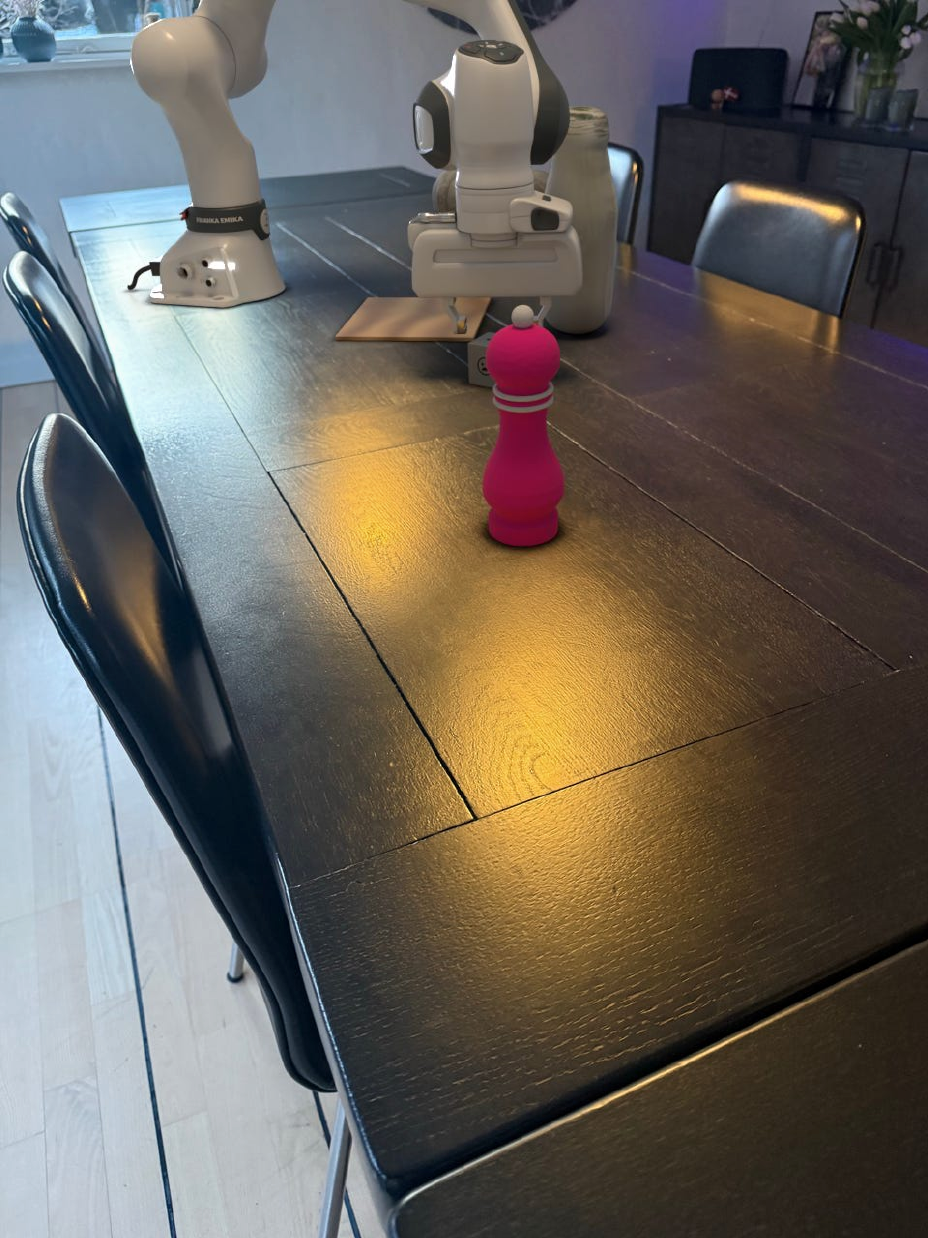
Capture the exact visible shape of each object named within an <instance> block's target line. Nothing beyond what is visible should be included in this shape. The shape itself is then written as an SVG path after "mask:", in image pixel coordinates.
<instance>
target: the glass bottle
mask: <svg viewBox="0 0 928 1238" xmlns="http://www.w3.org/2000/svg"><path fill="white" fill-rule="evenodd" d="M569 108H570V125H569V130H568V133H567V135H566V137H565V139H564V141H563V143H562V145H561V146H560V148H559V149H558V150H557V152H556V153H555V154H554V155H553V156H552V157H551V162H550V169H549V177H548V180H547V185H546V190H545V194H547V195H550V196H554V197H557V198H560V199H563V200H566V201H568V202H570V203H571V205H572V208H573V220H572V223H571V226H572V227H573V228H574V229H575V230H576V232H577V234H578V237H579V241H580V247H581V256H582V271H583V282H582V288H581V290H580V291H579V292H578V293H577V295H575V296H553V301H552V306H551V307H550V309H549V311H548V313H547V314H546V316H545V319H546V321H547V323H548V324H549V325H550V326H551V327H553V328H554V329H556V330H557V331H560V332H563V333H567V334H573V335H583V334H587V333H592V332H593V331H595V330H597V329H598V328H599V329H600V327H601V326H602V325H603V324H604V322H605V321H607V319H608V317H609V315H610V313H611V309H612V304H613V295H614V280H615V265H616V250H617V237H618V236H617V233H618V216H619V215H618V214H619V212H618V211H619V209H618V207H619V206H618V200H617V199H618V198H617V195H616V194H617V193H616V187H615V184H614V179H613V176H612V170H611V161H610V156H609V148H608V144H609V141H610V126H609V125H610V123H609V117H608V115H607V114H606V112H604V111H603V110H602V109H599V108H596V107H594V106H589V105H583V106H582V105H581V106H580V105H579V106H569Z"/></svg>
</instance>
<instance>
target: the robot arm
mask: <svg viewBox="0 0 928 1238" xmlns="http://www.w3.org/2000/svg"><path fill="white" fill-rule="evenodd" d="M276 1H277V0H200V2H199V5H198V7H197V9H196V10H195V11H194V12H193V13H192V14H191V15H190V16H179V17H165V18H161V19H159V20H157V21H155V22H152V23H151V24H149V25H148V26H146V27H144V28H142V29H141V30H139V32H137V34H135V37H134V38H133V40H132V43H131V47H130V65H131V70H132V74H133V76H134V78H135V81H136V83H137V85H138V86H139V88H140V89H141V91H142V92H143V93H144V94H145V95H146V96H147V97H148V98H149V99H150V100H151V101H153V103H155V104H156V105H157V107H158V108H159V110H160V111H161V112H162V114H163V116H164V117H165V119H166V121H167V123H168V125H169V127H170V129H171V132H172V133H173V136H174V138H175V140H176V143H177V145H178V149H179V151H180V154H181V158H182V162H183V166H184V170H185V175H186V180H187V184H188V189H189V194H190V198H191V203H190V204H189V205H188V206H187V207H186V208H184V209H183V211H181V212H180V213H179V214H178V215H179V216H181V217H180V221H184V222H185V225H186V229H185V231H184V232H183V233H182V234H181V235H180V236H179V238H178V239H177V240H176V241H175V242H174V243H173V244H172V245H171V247H169V248H168V249H167V251H166V252H165V253H164V254H162V255H160V256H158V257H156V258H154V259H152V260H150V261H149V262H148V264H147V265H143V267H141V268H139V269H138V270H137V271H136V272H134V275H133V278H132V282H131V283H130V284H127V286H126V289H127V290H128V291H133V290H135V289H136V287H137V285H138V282H139V279H140V277H141V276H142V275H143V274H145V273H146V272H148V271H150V273H151V276H152V277H159V280H160V281H159V282H160V284H159V285H157V286H155V287H154V288H153V289H152V290H151V291H150V293H149V300H150V302H151V303H152V304H165V305H178V306H179V305H180V306H181V305H182V306H195V307H208V308H209V307H210V308H231V307H234V306H238V305H240V304H245V303H250V302H255V301H256V302H257V301H260V300H261V301H262V300H265V299H269V298H272V297H274V296H277V295H279V294H281V293H282V292H284V291H285V290H286V284H285V282H284V279H283V277H282V275H281V272H280V270H279V267H278V265H277V261H276V258H275V255H274V250H273V247H272V243H271V242H272V241H271V239H270V236H271V225H270V217H269V213H268V212H269V211H268V210H267V205H266V199H265V198H264V197H263V196H262V189H261V183H260V177H259V171H258V164H257V156H256V152H255V151H256V150H255V147H254V145H253V144H252V143H253V142H251V140H250V139H249V138H248V137H247V136H245V134H244V133H243V132H242V131H241V129H240V127H239V125H238V123H237V121H236V118H235V117H234V114H233V111H232V109H231V106H230V103H229V100H234V99H239V98H240V97H244V96H245V95H247V94H249V93H250V92H251V91H253V90H254V89H255V88H256V87H258V86H259V85H260V84H261V83H262V82H263V80H264V78H265V76H266V75H267V74H266V73H267V70H268V52H267V48H266V38H267V37H266V36H267V33H268V27H269V22H270V18H271V15H272V11H273V9H274V7H275V3H276ZM402 1H403V2H405V3H408V4H413V5H416V6H421V7H425V8H430V9H432V10H436V11H439V12H443V13H446V14H449V15H451V16H453V17H456V18H458V19H460V20H462V21H463V22H465V23H467V24H468V25H469V26H471V28H473V29H474V30H475V32H476V33H477V35H478V36H479V37H480V39H479V40H478V39H477V40H472V41H467V42H465V43H463V44H461V45H459V47H457V48H456V49H455V51H454V53H453V57H452V64H451V66H450V68H449V69H448V70H447V71H445V73H443V74H442V75H440V76H439V77H437V78H436V79H433V80H429V81H428V82H426V83H425V84H424V86H423V87H422V88H421V90H420V91H419V92H418V94H417V96H416V98H415V100H414V101H413V103H412V129H413V139H414V144H415V149H416V151H417V153H418V154H419V155H420V156H421V157H422V158H423V159H424V161H426V162H427V163H428V164H429V165H430V166H431V167H433V168H434V169H436V170H442V171H445V170H448V171H452V170H457V175H456V182H455V191H456V212H440V213H435V212H420V213H418V215H417V216H416V217H413V218H412V219H411V220H410V221H409V223H408V224H407V227H406V235H407V244H408V248H409V249H410V251H411V252H412V258H411V289H412V291H413V292H414V293H415V295H416V296H417V297H420V298H442V302H443V308H444V309H445V311H446V312H447V314H448V316H449V317H450V319H451V320H453V333H454V334H466V332H467V325H466V322H467V318H466V316H460V315H459V313H458V312H457V310H456V308H455V306H454V304H455V302H456V301H457V300H456V297H490V298H533V297H534V298H536V297H538V298H539V306H541V307H542V308H541V309H540V311H539V313H538V315H534V320H533V323H532V324H535V325H539V326H541V327H543V328H544V320H545V319H546V317H545V316H546V314H547V313H548V311H549V309H550V307H551V306H552V301H553V296H575V295H577V293H578V292H579V291H580V290H581V288H582V282H583V271H582V256H581V247H580V241H579V237H578V234H577V232H576V230H575V229H574V228H573V227H572V226H571V223H572V220H573V208H572V205H571V203H570V202H568V201H566V200H563V199H560V198H557V197H554V196H550V195H547V194H544V193H541V192H538V191H535V190H534V175H533V171H532V170H533V168H532V166H543V165H545V164H546V163H547V162H549V161H550V159H552V156H553V155H554V154H555V153H556V152H557V150H558V149H559V148H560V146H561V145H562V143H563V141H564V139H565V137H566V135H567V133H568V130H569V125H570V108H569V107H570V102H569V99H568V96H567V93H566V91H565V88H564V86H563V85H562V83H561V81H560V80H559V78H558V77H557V75H556V74H555V72H554V71H553V69H552V68H551V67H550V66H549V64H548V63H547V61H546V60H545V58H544V57H543V55H542V52H541V51H540V49H539V47H538V45H537V43H536V40H535V38H534V36H533V34H532V32H531V30H530V28H529V26H528V23H527V22H526V20H525V18H524V15H523V13H522V11H521V9H520V7H519V5H518V2H517V0H402ZM417 221H418V222H417Z"/></svg>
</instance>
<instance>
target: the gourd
mask: <svg viewBox="0 0 928 1238" xmlns="http://www.w3.org/2000/svg"><path fill="white" fill-rule="evenodd" d="M532 171H533V175H534V190H535V191H538V192H541V193H544V194H545V190H546V185H547V180H548V177H549V173H550V172H549V173H548V172H547V171H546V170H545V171H544V170H541V169H532ZM456 175H457V170H452V171H448V170H443V171H442V172H441V173H439V175H438V176H437V178H436V179H435V181H434V183H433V185H432V186H433V187H432V195H431V197H432V206H433V210H434V213H440V212H456V191H455V182H456Z"/></svg>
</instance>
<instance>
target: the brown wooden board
mask: <svg viewBox="0 0 928 1238" xmlns="http://www.w3.org/2000/svg"><path fill="white" fill-rule="evenodd" d="M456 300H457V301H456V302H455V304H454V306H455V308H456V310H457V312H458V313H459V315H460V316H466V318H467V322H466V325H467V332H466V334H454V333H453V320H451V319H450V317H449V316H448V314H447V312H446V311H445V309H444V308H443V302H442V298H420V297H418V296H417V297H416V296H413V297H412V296H411V297H410V296H409V297H408V296H407V297H406V296H405V297H403V296H401V297H398V296H397V297H393V296H390V297H389V296H386V297H385V296H382V297H381V296H379V297H378V296H377V297H376V296H375V297H374V296H372V297H371V296H369V297H367V298H366V299H365V300H364V302H363V303H362V304H361V305H360V306H359V308H358V309H357V310H356V311H355V313H354V314H352V316H351V317H350V318H349V320H348V321H346V323H345V324H344V326H343V327H342V328H341V329H340V330H339V332H338V333H337V334H336V335H335V341H356V342H358V341H359V342H361V341H362V342H366V341H369V342H371V341H373V342H377V341H378V342H471V341H473V340H475V339H476V336H477V334H478V332H479V329H480V327H481V325H482V322H483V320H484V318H485V316H486V313H487V311H488V308H489V306H490V305H491V301H492V297H456Z"/></svg>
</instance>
